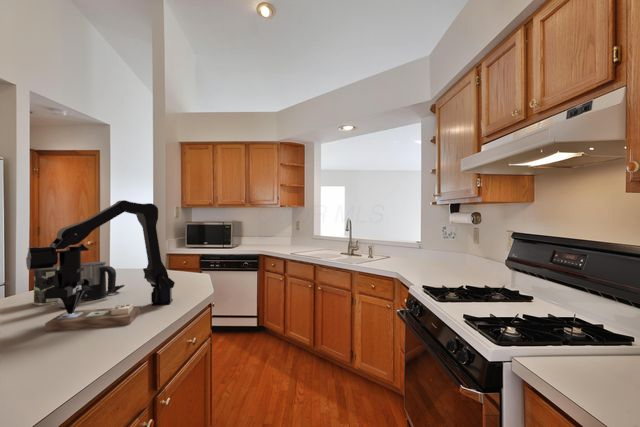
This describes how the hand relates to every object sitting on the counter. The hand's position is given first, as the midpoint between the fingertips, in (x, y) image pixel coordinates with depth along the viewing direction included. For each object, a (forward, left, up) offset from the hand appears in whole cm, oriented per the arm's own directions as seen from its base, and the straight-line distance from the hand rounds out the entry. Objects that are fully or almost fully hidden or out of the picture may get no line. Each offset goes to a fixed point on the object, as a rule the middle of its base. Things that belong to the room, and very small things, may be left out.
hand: (70, 313), depth 103 cm
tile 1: (-7, 0, -3) cm, 8 cm away
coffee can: (+22, -33, -3) cm, 40 cm away
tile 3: (-15, 0, -1) cm, 15 cm away
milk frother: (+5, -38, -4) cm, 39 cm away
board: (-7, 0, -3) cm, 8 cm away
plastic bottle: (+11, -22, -3) cm, 25 cm away
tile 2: (0, 0, -2) cm, 2 cm away
